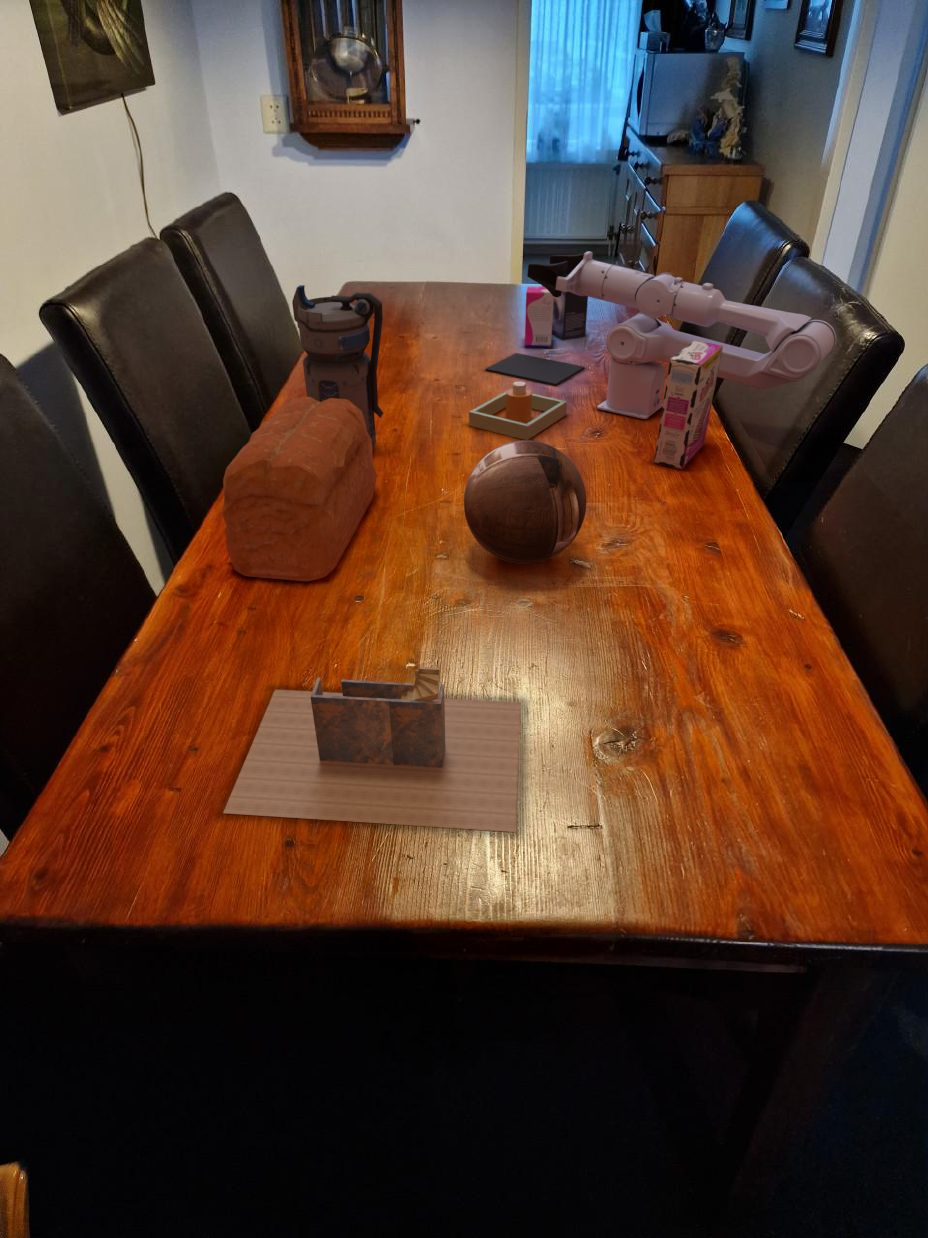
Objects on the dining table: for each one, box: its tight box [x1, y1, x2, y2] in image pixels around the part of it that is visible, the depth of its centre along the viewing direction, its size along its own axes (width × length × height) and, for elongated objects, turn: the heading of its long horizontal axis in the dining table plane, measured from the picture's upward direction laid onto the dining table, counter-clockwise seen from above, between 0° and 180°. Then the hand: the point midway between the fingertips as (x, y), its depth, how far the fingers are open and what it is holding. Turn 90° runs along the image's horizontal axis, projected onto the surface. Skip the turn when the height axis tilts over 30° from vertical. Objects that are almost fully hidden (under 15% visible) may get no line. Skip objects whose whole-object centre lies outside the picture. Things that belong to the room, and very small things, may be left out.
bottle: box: [505, 381, 533, 424], centre depth 140 cm, size 4×4×6 cm
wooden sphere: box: [463, 440, 587, 565], centre depth 100 cm, size 15×15×15 cm
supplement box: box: [524, 285, 554, 349], centre depth 174 cm, size 6×6×12 cm
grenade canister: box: [291, 284, 384, 450], centre depth 124 cm, size 10×13×25 cm
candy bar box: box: [653, 341, 723, 470], centre depth 125 cm, size 11×5×16 cm, turn 149°
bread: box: [221, 396, 378, 582], centre depth 106 cm, size 14×27×15 cm, turn 171°
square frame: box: [468, 390, 568, 441], centre depth 141 cm, size 12×14×2 cm
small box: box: [541, 285, 589, 340], centre depth 182 cm, size 11×6×10 cm, turn 25°
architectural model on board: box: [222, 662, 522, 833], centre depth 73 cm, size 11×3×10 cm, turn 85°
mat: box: [485, 352, 586, 386], centre depth 164 cm, size 16×12×1 cm
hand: (539, 265), depth 143 cm, fingers open, 7 cm apart
